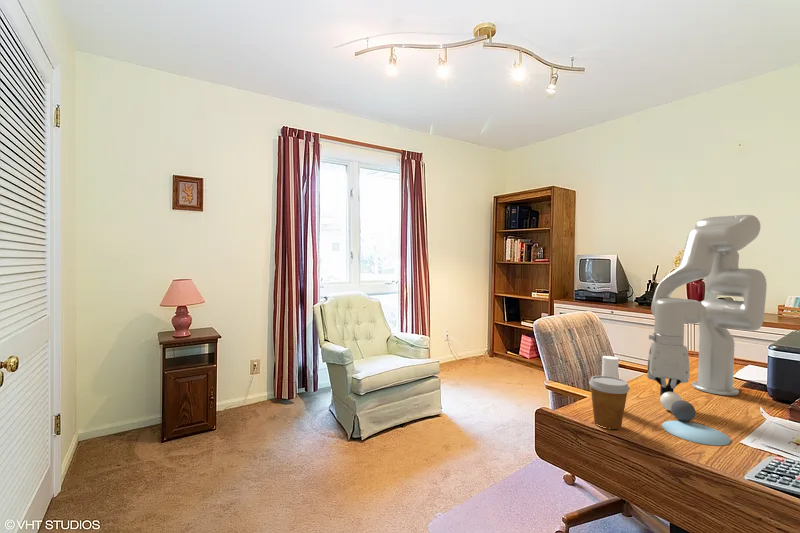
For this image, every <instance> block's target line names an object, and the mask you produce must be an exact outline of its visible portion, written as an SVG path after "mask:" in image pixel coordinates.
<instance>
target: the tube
mask: <svg viewBox="0 0 800 533" xmlns="http://www.w3.org/2000/svg"><path fill="white" fill-rule="evenodd" d="M601 359H602V360H601V361H602V362H601V376H610V377H615V378H619V360H620V359H619V357H617V356H611V355H602V357H601Z"/></svg>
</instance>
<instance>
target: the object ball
mask: <svg viewBox="0 0 800 533" xmlns="http://www.w3.org/2000/svg"><path fill="white" fill-rule="evenodd" d="M670 412H671V413H672V415H673V417H674V418H676V420H677V421H685V422H690V421H692V420H693V419H695V417H696V415H697V413H696V412H697V411H696V408H695V407H694V405H692V403H691V402H688V401H687V400H683V399H682V400H679V401H676V402H674V403H673V404H672V406H671V411H670Z"/></svg>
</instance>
